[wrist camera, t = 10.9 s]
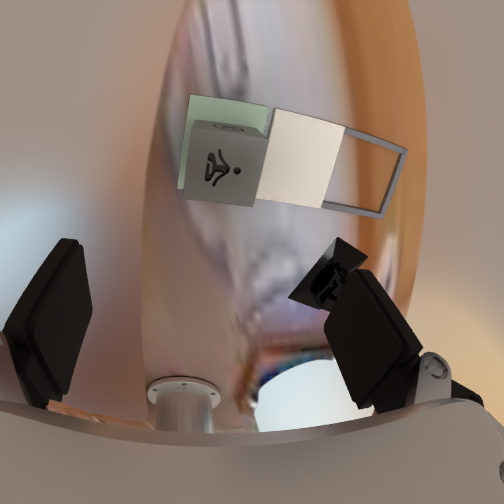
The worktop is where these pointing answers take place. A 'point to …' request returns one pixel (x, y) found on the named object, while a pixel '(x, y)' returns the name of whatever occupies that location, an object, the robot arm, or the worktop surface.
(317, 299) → the black angular block
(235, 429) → the worktop surface
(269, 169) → the game board
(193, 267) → the worktop surface
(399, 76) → the worktop surface
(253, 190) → the dice cube
